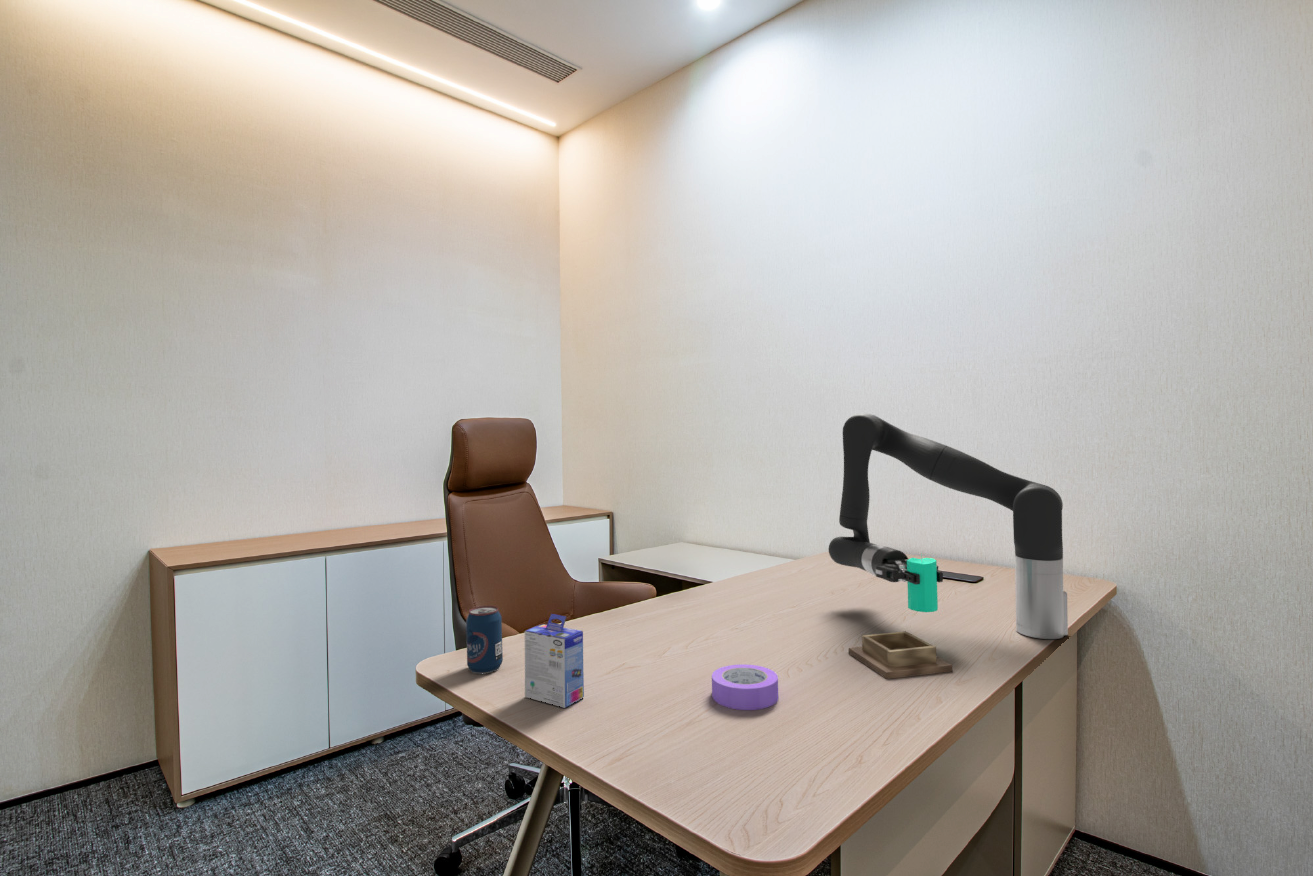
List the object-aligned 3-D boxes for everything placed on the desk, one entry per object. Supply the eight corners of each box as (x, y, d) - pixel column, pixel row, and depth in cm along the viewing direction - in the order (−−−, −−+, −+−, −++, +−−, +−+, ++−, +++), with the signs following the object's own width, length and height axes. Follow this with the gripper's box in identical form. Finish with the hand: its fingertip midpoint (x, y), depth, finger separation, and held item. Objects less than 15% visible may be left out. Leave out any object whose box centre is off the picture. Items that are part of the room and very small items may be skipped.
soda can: (460, 672, 127) (458, 613, 126) (481, 660, 133) (480, 603, 133) (488, 677, 124) (487, 616, 124) (509, 664, 130) (508, 606, 130)
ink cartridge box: (586, 698, 113) (584, 617, 113) (566, 710, 109) (564, 625, 108) (544, 687, 119) (542, 610, 118) (523, 698, 114) (521, 617, 114)
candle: (942, 607, 137) (940, 552, 137) (932, 614, 133) (930, 556, 133) (914, 602, 141) (912, 549, 141) (903, 609, 137) (902, 553, 137)
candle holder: (908, 647, 135) (908, 627, 135) (952, 671, 122) (951, 649, 122) (848, 653, 132) (848, 633, 132) (886, 678, 119) (886, 656, 119)
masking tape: (710, 684, 119) (710, 663, 119) (773, 683, 118) (772, 663, 118) (713, 711, 107) (713, 689, 107) (783, 711, 107) (782, 688, 107)
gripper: (856, 549, 149) (899, 563, 133) (911, 544, 152) (959, 558, 136) (857, 580, 149) (900, 599, 133) (912, 575, 152) (960, 593, 136)
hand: (929, 578), depth 134 cm, fingers closed on candle, 5 cm apart
